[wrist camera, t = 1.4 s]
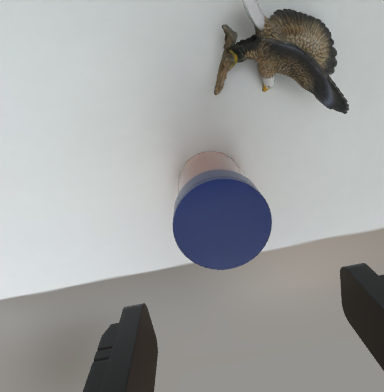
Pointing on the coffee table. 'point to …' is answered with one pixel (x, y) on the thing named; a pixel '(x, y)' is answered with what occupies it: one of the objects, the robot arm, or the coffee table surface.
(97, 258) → the coffee table surface
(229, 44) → the brown animal figure
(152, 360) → the robot arm
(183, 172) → the jar
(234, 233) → the jar lid
